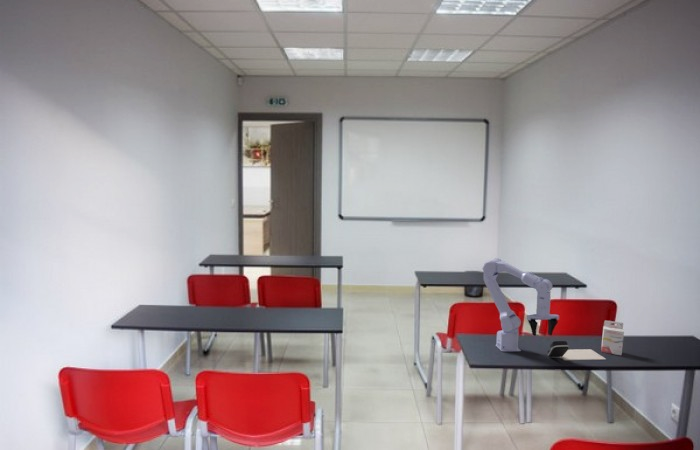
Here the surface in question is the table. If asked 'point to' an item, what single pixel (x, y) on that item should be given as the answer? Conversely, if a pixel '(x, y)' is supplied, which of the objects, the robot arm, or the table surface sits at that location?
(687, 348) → the table surface
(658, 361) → the table surface
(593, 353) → the mat
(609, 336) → the ink cartridge box
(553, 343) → the battery charger
